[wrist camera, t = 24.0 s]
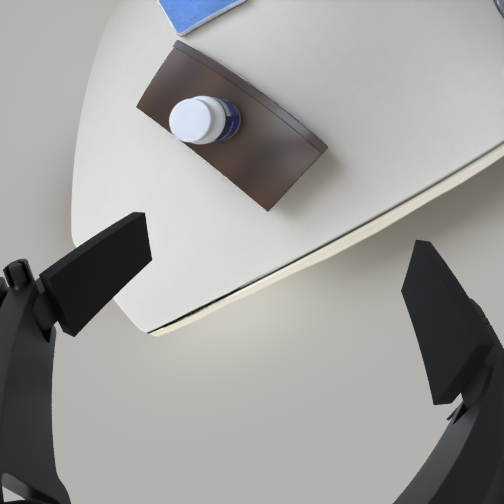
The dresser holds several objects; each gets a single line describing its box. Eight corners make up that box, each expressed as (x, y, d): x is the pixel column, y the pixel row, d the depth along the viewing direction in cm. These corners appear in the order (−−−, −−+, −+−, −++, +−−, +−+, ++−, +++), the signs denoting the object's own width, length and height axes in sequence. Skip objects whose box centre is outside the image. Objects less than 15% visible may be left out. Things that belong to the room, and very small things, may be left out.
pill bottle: (218, 148, 35) (185, 158, 27) (193, 118, 34) (154, 119, 25) (250, 122, 33) (226, 122, 24) (224, 91, 31) (191, 82, 23)
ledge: (327, 144, 35) (328, 147, 31) (272, 203, 41) (267, 213, 37) (191, 46, 32) (177, 39, 28) (149, 106, 38) (133, 106, 34)
